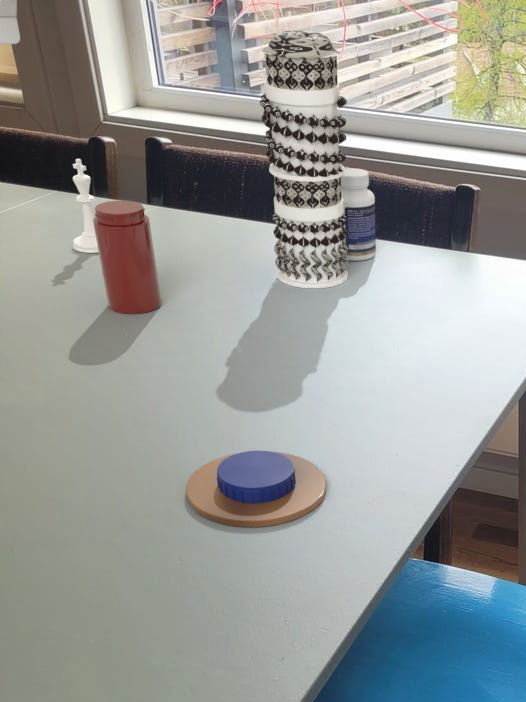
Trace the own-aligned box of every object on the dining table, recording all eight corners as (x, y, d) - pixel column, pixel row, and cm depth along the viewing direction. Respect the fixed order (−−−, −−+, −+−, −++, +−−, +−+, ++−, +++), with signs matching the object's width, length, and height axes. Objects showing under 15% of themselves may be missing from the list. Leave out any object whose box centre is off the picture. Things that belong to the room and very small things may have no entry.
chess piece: (92, 255, 120) (75, 167, 114) (64, 247, 122) (46, 159, 116) (123, 246, 124) (109, 159, 117) (95, 237, 125) (80, 151, 119)
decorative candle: (304, 257, 124) (290, 24, 108) (366, 273, 121) (361, 34, 105) (257, 278, 117) (236, 33, 102) (322, 295, 114) (310, 44, 98)
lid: (302, 468, 82) (301, 453, 81) (285, 506, 77) (284, 491, 76) (230, 462, 82) (228, 447, 81) (208, 500, 77) (206, 484, 77)
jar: (104, 313, 107) (85, 214, 100) (113, 294, 111) (96, 198, 105) (157, 314, 107) (142, 215, 101) (165, 295, 112) (151, 200, 105)
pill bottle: (383, 252, 127) (383, 170, 121) (362, 264, 123) (360, 180, 117) (347, 245, 128) (344, 163, 122) (324, 256, 125) (321, 173, 118)
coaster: (178, 528, 75) (177, 521, 75) (195, 457, 84) (194, 451, 83) (324, 526, 77) (324, 520, 76) (327, 457, 85) (327, 450, 85)
